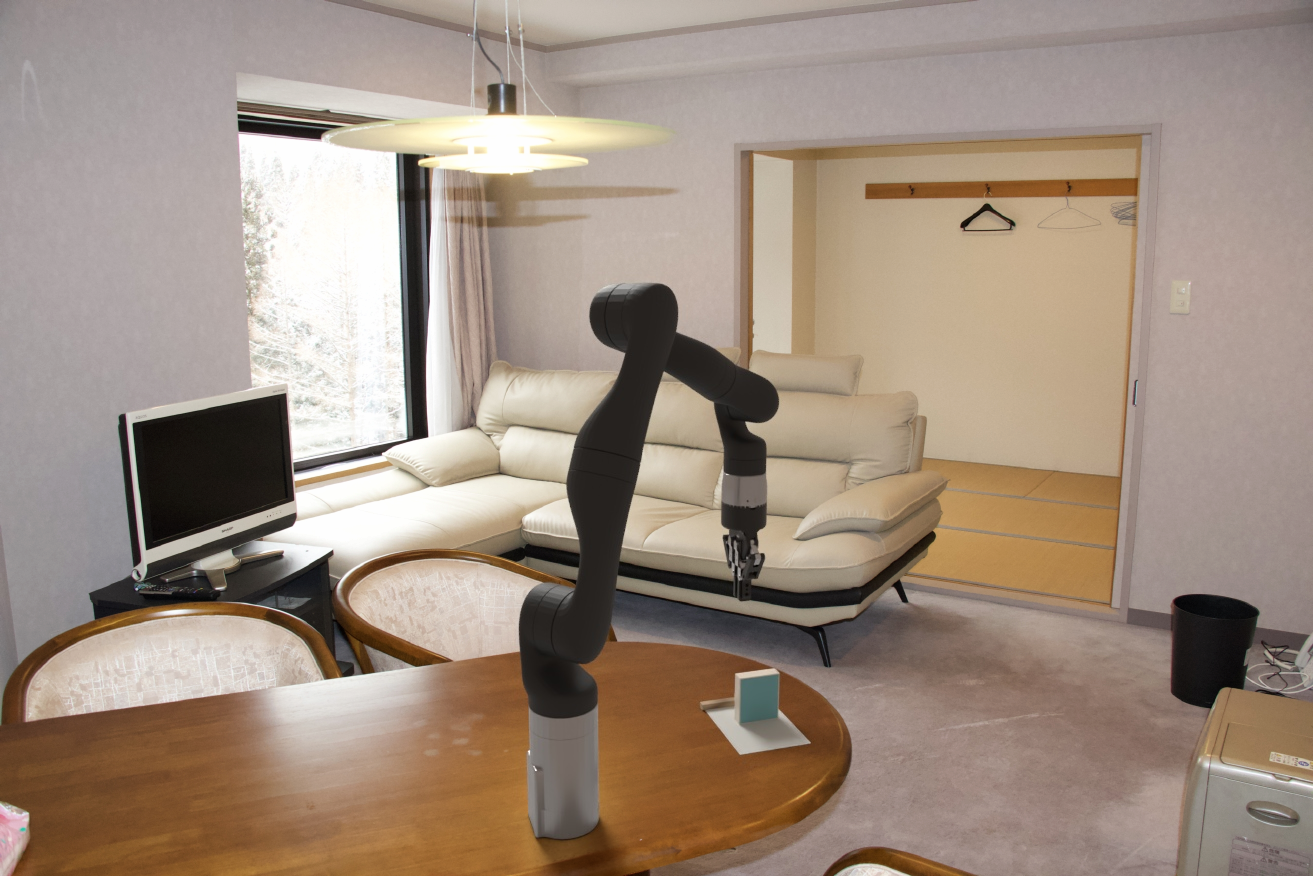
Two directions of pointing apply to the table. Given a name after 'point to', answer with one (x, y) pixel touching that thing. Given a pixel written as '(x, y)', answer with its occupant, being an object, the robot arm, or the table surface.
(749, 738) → the mat
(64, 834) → the table surface
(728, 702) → the turner
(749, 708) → the tile
